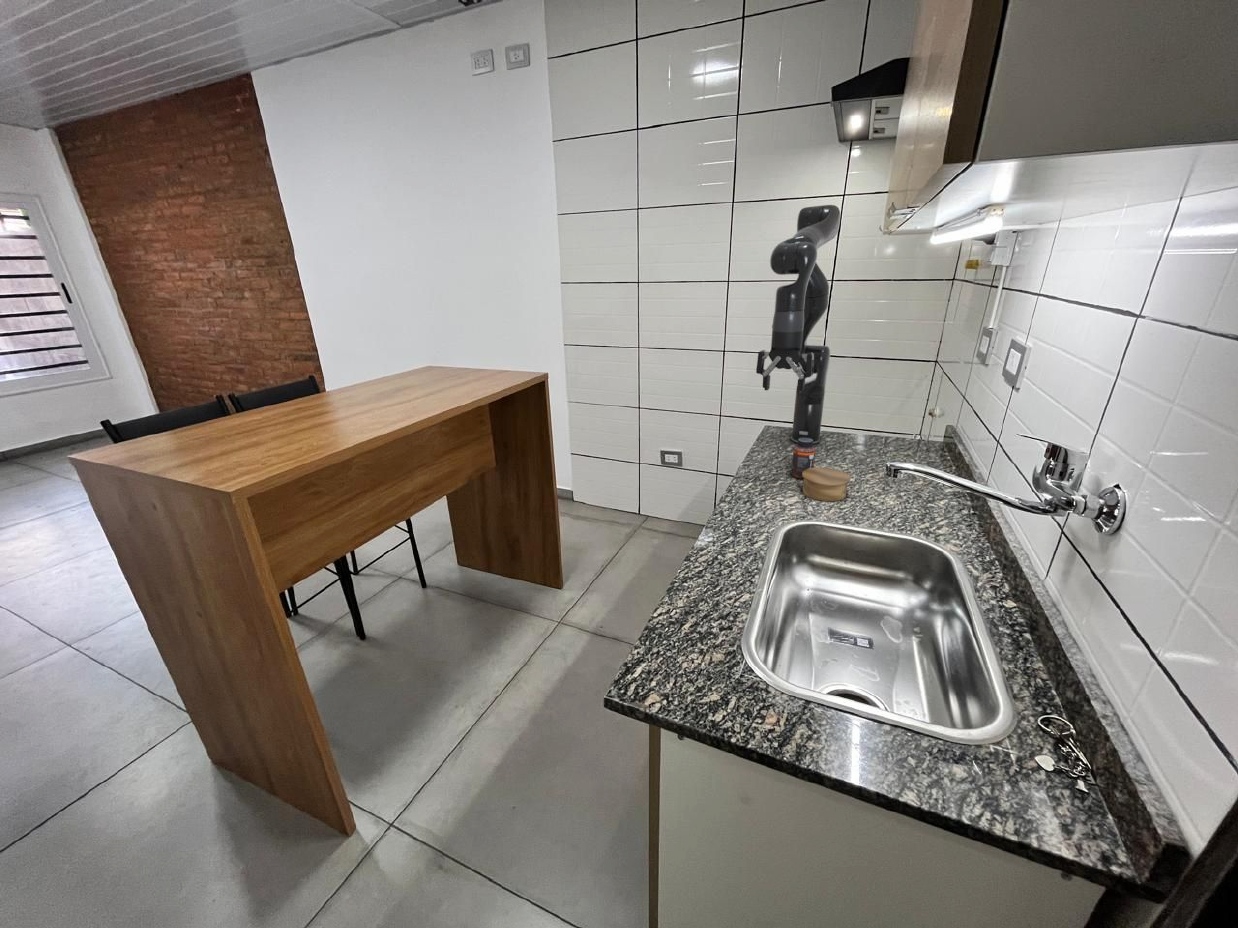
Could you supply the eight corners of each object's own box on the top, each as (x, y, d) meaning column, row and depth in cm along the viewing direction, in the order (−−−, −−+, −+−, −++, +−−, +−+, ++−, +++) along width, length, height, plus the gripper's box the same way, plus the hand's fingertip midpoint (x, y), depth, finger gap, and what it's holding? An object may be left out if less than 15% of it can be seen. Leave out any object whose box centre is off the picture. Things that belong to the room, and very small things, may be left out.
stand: (806, 480, 140) (808, 464, 138) (851, 488, 133) (854, 472, 132) (795, 496, 130) (797, 479, 129) (843, 505, 124) (845, 487, 122)
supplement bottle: (815, 479, 140) (820, 442, 136) (794, 480, 140) (798, 443, 136) (808, 471, 146) (812, 436, 142) (788, 472, 146) (792, 436, 142)
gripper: (820, 327, 122) (813, 390, 128) (764, 326, 130) (761, 385, 136) (813, 331, 117) (806, 397, 123) (755, 330, 124) (751, 391, 130)
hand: (782, 391), depth 129 cm, fingers open, 8 cm apart
